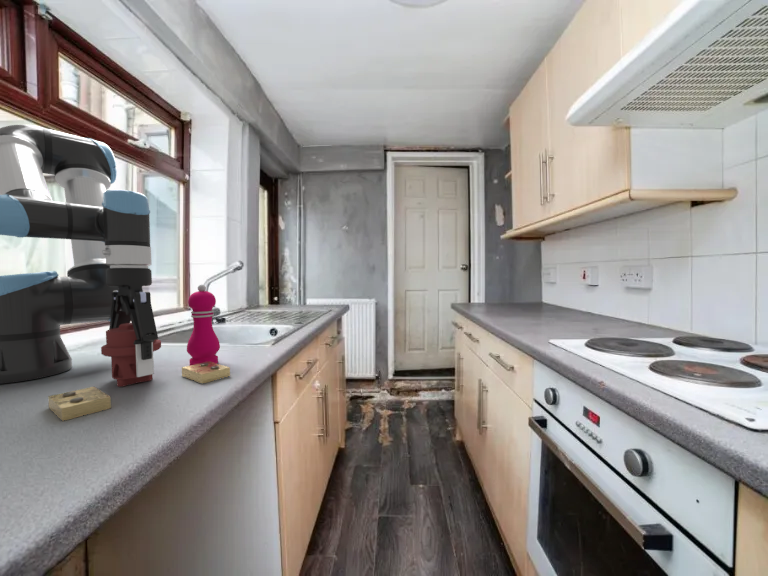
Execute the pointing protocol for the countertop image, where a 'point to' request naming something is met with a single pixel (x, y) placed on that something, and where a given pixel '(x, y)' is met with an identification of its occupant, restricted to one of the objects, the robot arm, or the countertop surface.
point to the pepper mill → (202, 328)
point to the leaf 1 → (79, 403)
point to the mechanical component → (124, 354)
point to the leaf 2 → (205, 372)
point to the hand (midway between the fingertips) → (133, 370)
